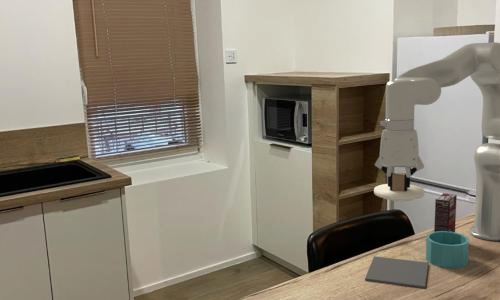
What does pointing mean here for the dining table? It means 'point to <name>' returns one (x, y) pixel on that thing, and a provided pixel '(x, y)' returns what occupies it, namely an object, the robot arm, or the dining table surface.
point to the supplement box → (445, 213)
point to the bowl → (447, 249)
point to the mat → (398, 272)
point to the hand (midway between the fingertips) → (398, 189)
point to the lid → (398, 190)
